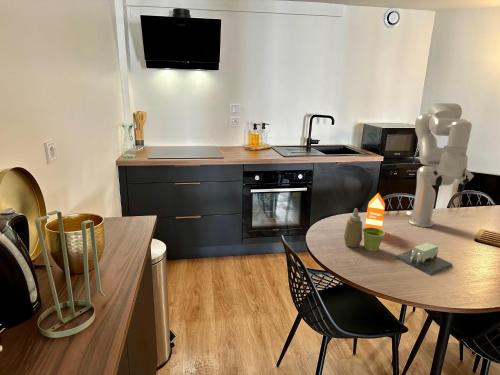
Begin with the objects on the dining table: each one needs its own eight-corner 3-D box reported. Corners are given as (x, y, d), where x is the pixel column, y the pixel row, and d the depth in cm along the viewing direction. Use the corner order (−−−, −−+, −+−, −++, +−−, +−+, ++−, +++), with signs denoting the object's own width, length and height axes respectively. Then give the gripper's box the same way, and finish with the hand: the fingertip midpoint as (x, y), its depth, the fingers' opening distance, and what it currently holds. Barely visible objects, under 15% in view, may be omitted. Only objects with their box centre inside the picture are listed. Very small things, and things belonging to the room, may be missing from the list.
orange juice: (364, 234, 172) (368, 196, 166) (365, 227, 180) (370, 191, 174) (380, 237, 170) (386, 198, 164) (381, 230, 177) (386, 193, 171)
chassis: (395, 257, 150) (397, 245, 148) (417, 250, 157) (419, 237, 155) (430, 275, 137) (432, 261, 135) (451, 265, 144) (454, 252, 142)
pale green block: (412, 255, 146) (414, 246, 145) (425, 250, 150) (427, 242, 149) (422, 260, 142) (424, 251, 141) (435, 255, 146) (437, 246, 145)
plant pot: (382, 246, 160) (384, 228, 158) (382, 255, 152) (385, 237, 149) (361, 242, 163) (363, 225, 161) (360, 251, 155) (362, 233, 152)
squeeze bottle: (362, 243, 163) (366, 207, 158) (359, 250, 156) (364, 213, 151) (344, 239, 166) (348, 204, 161) (341, 246, 159) (345, 210, 154)
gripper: (431, 147, 152) (425, 185, 157) (472, 155, 138) (463, 196, 143) (441, 146, 155) (435, 183, 160) (482, 153, 141) (473, 193, 146)
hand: (448, 189), depth 152 cm, fingers open, 9 cm apart
